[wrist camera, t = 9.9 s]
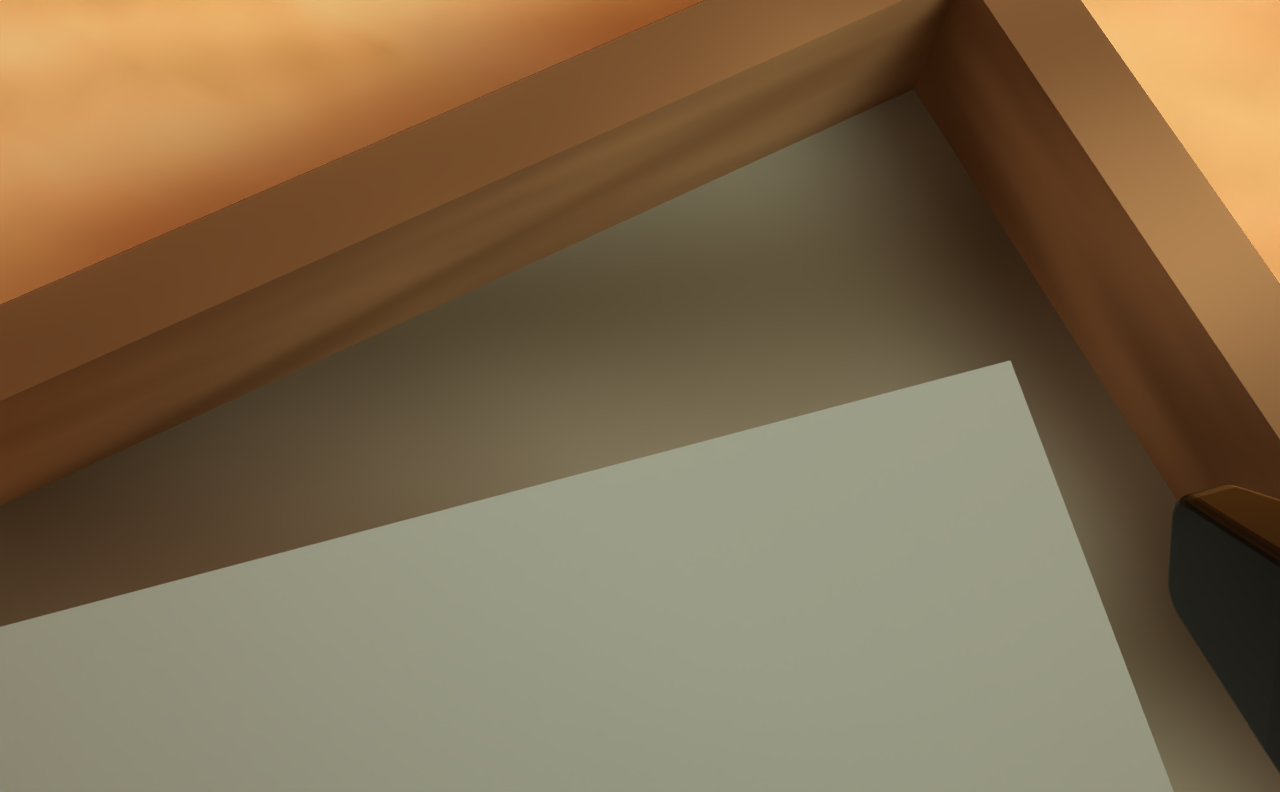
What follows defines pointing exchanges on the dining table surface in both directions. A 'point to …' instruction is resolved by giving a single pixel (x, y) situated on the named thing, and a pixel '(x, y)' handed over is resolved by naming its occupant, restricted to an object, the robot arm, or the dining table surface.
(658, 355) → the tray
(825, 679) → the slate block
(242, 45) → the dining table surface
